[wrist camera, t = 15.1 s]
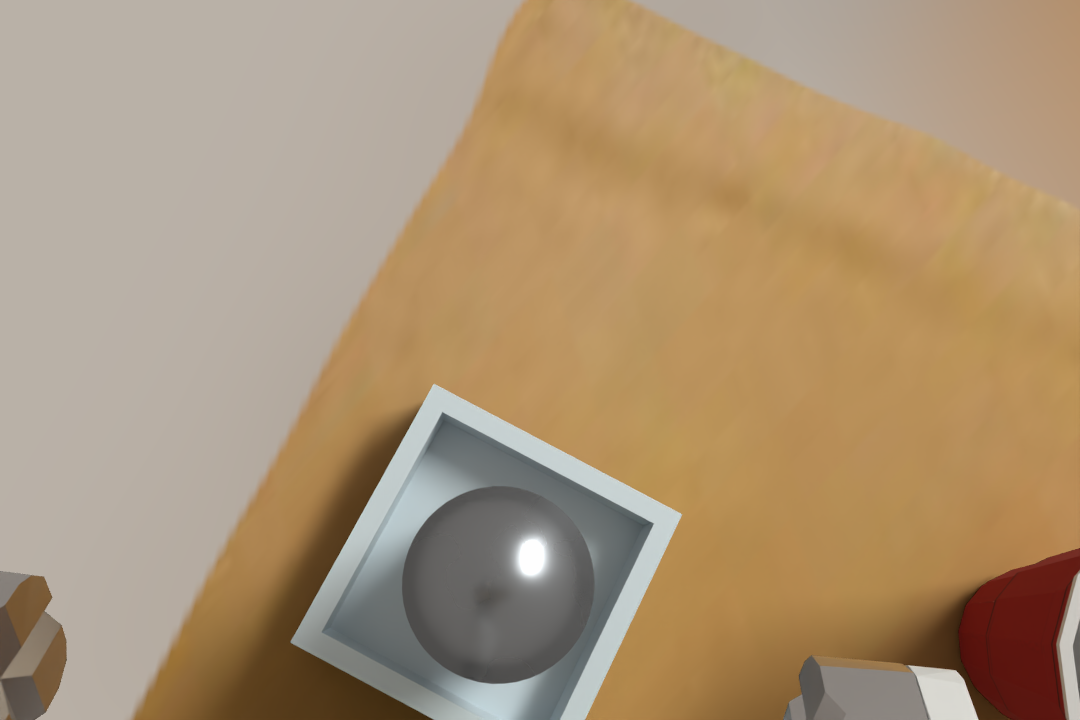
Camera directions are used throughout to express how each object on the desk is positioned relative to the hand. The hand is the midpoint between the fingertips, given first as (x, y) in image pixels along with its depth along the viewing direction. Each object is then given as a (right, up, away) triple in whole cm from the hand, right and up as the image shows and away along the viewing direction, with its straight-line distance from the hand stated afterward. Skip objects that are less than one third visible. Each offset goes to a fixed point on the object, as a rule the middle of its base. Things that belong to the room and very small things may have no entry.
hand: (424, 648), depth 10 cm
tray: (-1, -5, +27) cm, 28 cm away
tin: (-1, -5, +26) cm, 27 cm away
